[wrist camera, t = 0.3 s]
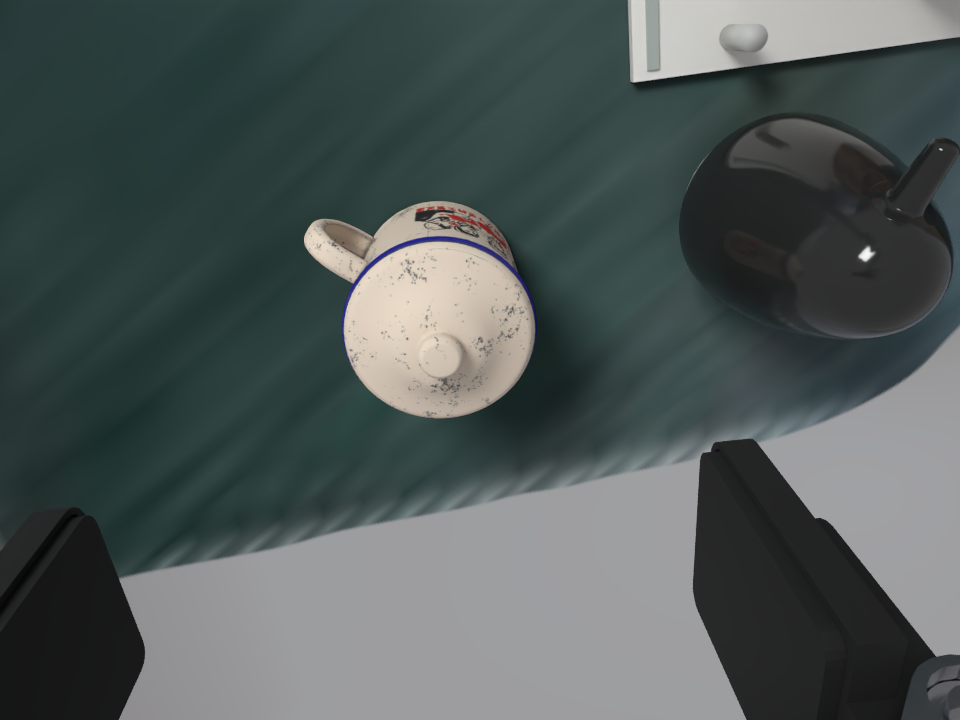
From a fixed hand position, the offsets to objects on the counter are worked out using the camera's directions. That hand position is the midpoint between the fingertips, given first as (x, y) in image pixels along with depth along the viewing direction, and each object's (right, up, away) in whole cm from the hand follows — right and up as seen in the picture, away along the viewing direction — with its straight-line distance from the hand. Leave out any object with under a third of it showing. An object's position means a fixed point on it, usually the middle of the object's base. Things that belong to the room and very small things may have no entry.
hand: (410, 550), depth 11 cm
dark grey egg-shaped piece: (+16, +12, +29) cm, 35 cm away
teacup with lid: (-3, +9, +30) cm, 31 cm away
